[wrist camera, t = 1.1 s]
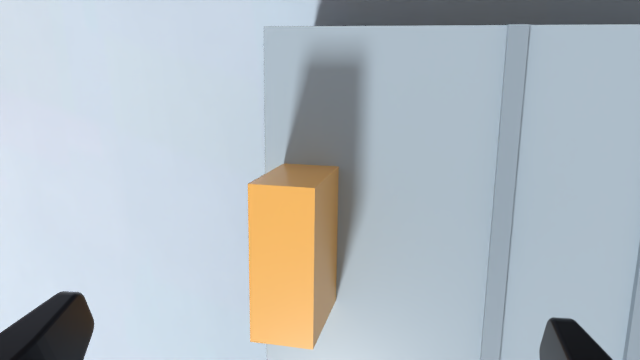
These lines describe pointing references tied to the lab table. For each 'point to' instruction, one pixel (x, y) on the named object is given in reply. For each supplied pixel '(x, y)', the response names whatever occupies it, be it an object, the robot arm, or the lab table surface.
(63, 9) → the lab table surface
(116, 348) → the lab table surface
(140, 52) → the lab table surface
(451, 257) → the lid
